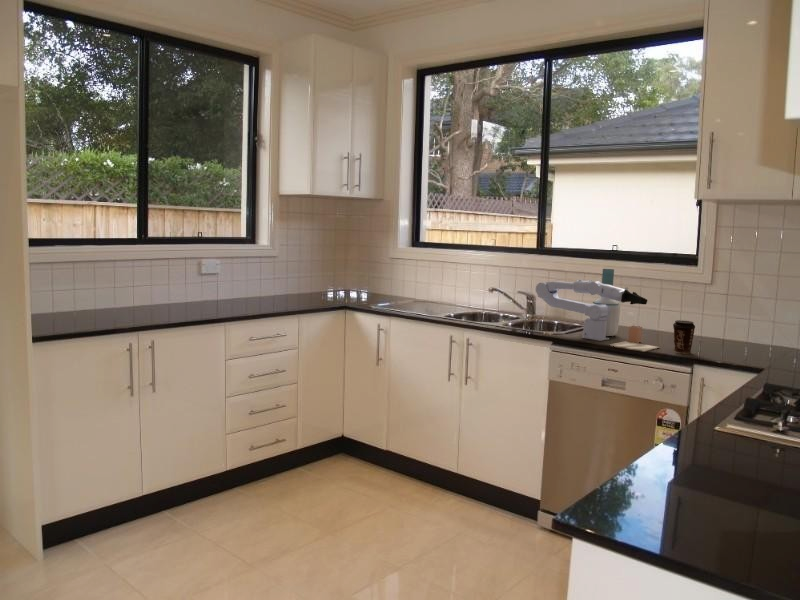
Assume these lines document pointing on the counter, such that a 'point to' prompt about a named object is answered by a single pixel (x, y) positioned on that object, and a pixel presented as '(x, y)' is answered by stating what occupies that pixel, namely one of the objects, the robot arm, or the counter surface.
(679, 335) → the coffee cup
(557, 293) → the robot arm
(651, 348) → the board
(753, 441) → the counter surface
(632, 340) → the block
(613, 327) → the soap bottle
